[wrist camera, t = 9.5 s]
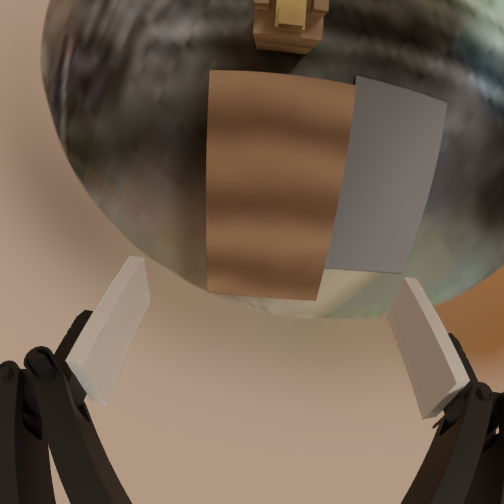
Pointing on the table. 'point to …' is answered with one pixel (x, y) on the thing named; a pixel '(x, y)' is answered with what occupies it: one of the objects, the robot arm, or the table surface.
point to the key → (290, 16)
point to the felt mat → (385, 176)
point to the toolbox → (287, 40)
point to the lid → (273, 180)
